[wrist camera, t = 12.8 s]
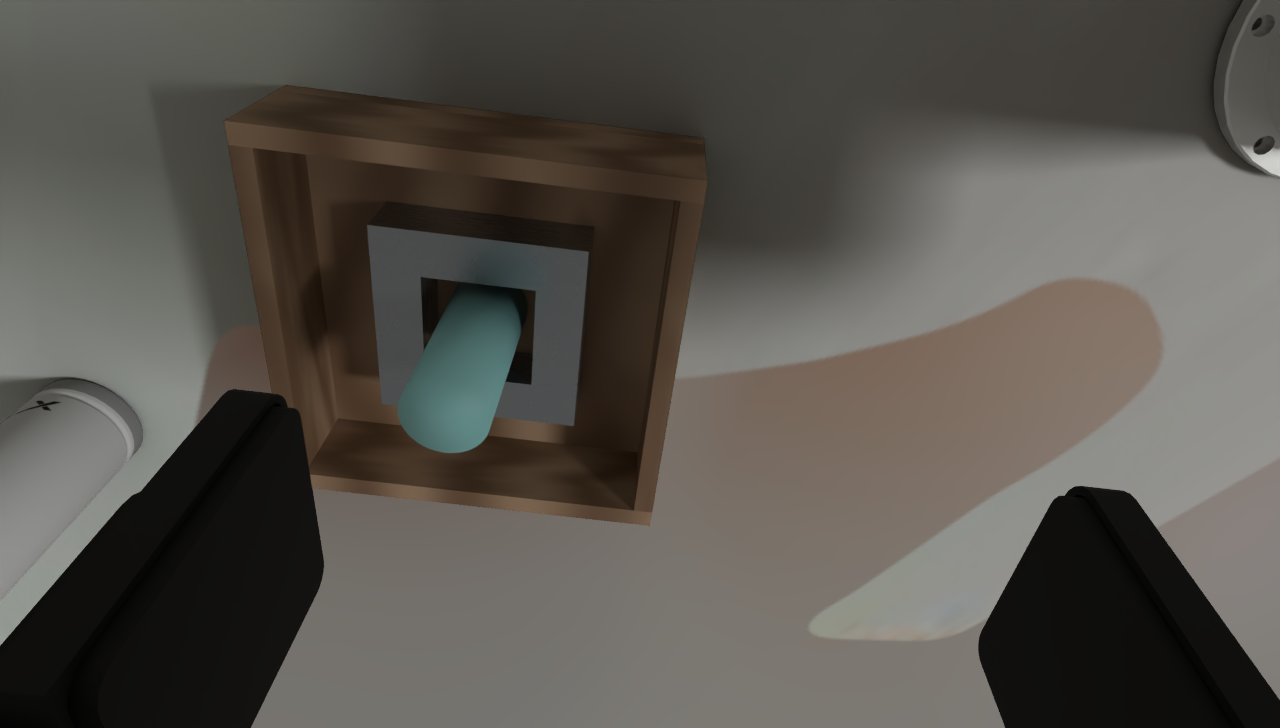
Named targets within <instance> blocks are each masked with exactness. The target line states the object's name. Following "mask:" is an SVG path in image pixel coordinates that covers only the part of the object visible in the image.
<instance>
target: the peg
mask: <svg viewBox="0 0 1280 728" xmlns="http://www.w3.org/2000/svg"><path fill="white" fill-rule="evenodd" d="M527 312H528V304H527V300H526V297H525V295H524V293H523V291H522V289H517V288H508V287H500V286H492V285H483V284H475V283H467V282H460V283H459V284H458V286H457V288H456V290H455V291H454V293H453V295H452V297H451V299H450V301H449V303H448V305H447V307H446V309H445V311H444V313H443V315H442V317H441V319H440V321H439V323H438V325H437V327H436V329H435V330H434V332H433V334H432V336H431V338H430V340H429V342H428V344H427V346H426V348H425V350H424V352H423V354H422V356H421V358H420V360H419V362H418V364H417V366H416V368H415V369H414V371H413V373H412V375H411V377H410V379H409V381H408V383H407V385H406V387H405V389H404V391H403V393H402V395H401V397H400V399H399V402H398V410H397V412H398V417H399V421H400V423H401V425H402V427H403V428H404V430H405V431H406V432H407V434H408V435H409V436H410V437H411V438H412V439H414V440H415V441H416V442H417V443H419V444H421V445H422V446H424V447H426V448H429V449H431V450H434V451H438V452H444V453H460V452H465V451H468V450H471V449H473V448H475V447H477V446H478V445H479V444H481V443H482V442H483V441H484V439H485V438H486V437H487V435H488V433H489V430H490V427H491V424H492V421H493V418H494V415H495V412H496V409H497V406H498V403H499V399H500V396H501V393H502V390H503V387H504V384H505V381H506V378H507V375H508V372H509V369H510V366H511V363H512V360H513V357H514V354H515V350H516V347H517V344H518V341H519V338H520V335H521V332H522V329H523V326H524V323H525V320H526V317H527Z"/></svg>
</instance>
